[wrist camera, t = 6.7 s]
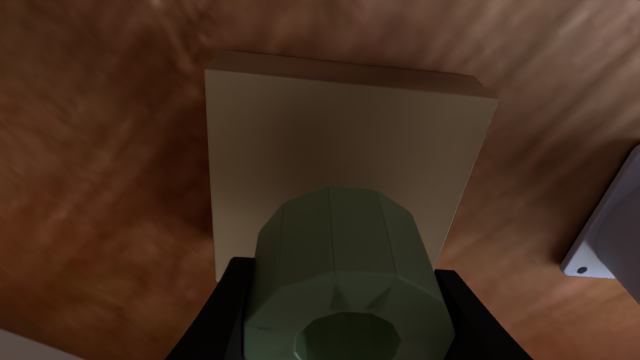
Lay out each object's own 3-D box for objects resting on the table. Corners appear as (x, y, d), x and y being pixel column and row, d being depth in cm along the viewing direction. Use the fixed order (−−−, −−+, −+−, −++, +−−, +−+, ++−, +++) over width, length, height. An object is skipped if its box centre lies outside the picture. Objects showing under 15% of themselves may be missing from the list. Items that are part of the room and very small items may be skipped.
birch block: (474, 75, 15) (500, 99, 13) (413, 258, 21) (425, 295, 18) (218, 49, 14) (203, 68, 12) (225, 245, 20) (215, 282, 18)
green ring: (400, 309, 15) (422, 404, 12) (256, 302, 14) (242, 398, 11) (440, 193, 12) (483, 281, 9) (259, 179, 11) (242, 266, 8)
